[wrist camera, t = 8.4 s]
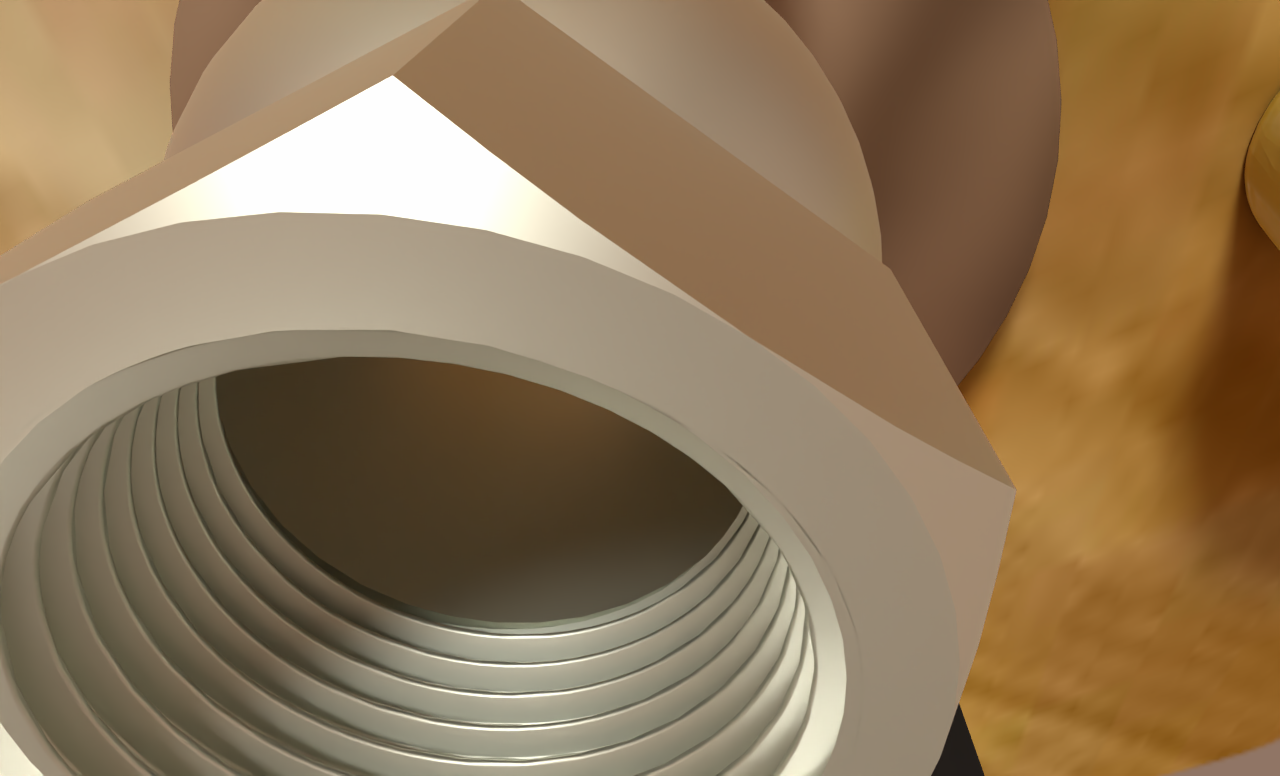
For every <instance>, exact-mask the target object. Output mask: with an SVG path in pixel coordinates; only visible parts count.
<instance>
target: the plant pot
mask: <svg viewBox="0 0 1280 776" xmlns="http://www.w3.org/2000/svg"><path fill="white" fill-rule="evenodd" d="M1245 188H1246V194H1247V199H1248V202H1249V206H1250V208H1251V211H1252V213H1253V215H1254V217H1255V219H1256V220H1257V222H1258V224H1259V225H1260V226H1261V228H1262V229H1263V230H1264V232H1265V233H1266V234H1267V236H1268V237H1269V238H1270V240H1271V241H1272V242H1273V243H1274V245H1275V246H1276V247H1277V248H1278V250H1279V251H1280V90H1279V92H1278V93H1277V94H1276V96H1275V97H1274V98H1273V100H1272V101H1271V103H1270V104H1269V106H1268V107H1267V109H1266V110H1265V112H1264V114H1263V116H1262V118H1261V119H1260V121H1259V123H1258V125H1257V128H1256V130H1255V132H1254V135H1253V137H1252V140H1251V143H1250V145H1249V149H1248V153H1247V158H1246V164H1245Z"/></svg>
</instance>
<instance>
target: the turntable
mask: <svg viewBox="0 0 1280 776" xmlns="http://www.w3.org/2000/svg"><path fill="white" fill-rule="evenodd" d="M260 1H262V0H180V1H179V6H178V10H177V15H176V19H175V24H174V37H173V50H172V63H171V76H170V94H171V111H172V127H173V131H174V129H175V127H176V125H177V123H178V121H179V119H180V117H181V115H182V113H183V111H184V109H185V107H186V105H187V103H188V101H189V99H190V97H191V95H192V93H193V91H194V89H195V87H196V85H197V83H198V81H199V79H200V77H201V75H202V73H203V72H204V70H205V69H206V67H207V66H208V64H209V63H210V61H211V60H212V58H213V57H214V56H215V54H216V53H217V52H218V51H219V50H220V48H221V47H222V46H223V45H224V43H225V42H226V41H227V40H228V39H229V37H230V36H231V35H232V34H233V33H234V31H235V30H236V29H237V28H238V27H239V25H240V24H241V23H242V22H243V21H244V19H245V18H246V17H247V16H248V15H249V13H250V12H251V11H252V10H253V9H254V7H255V6H256V5H257V4H258V3H259V2H260ZM764 1H765V2H766V3H767V4H768V5H770V6H771V7H772V8H773V9H774V10H775V11H776V12H777V13H778V14H779V15H780V16H781V17H782V18H783V19H784V20H785V21H786V22H787V23H788V25H789V26H790V27H791V28H792V30H793V31H794V32H795V33H796V35H797V36H798V37H799V38H800V40H801V41H802V42H803V43H804V45H805V46H806V47H807V48H808V50H809V51H810V52H811V53H812V55H813V56H814V58H815V59H816V61H817V62H818V64H819V66H820V67H821V69H822V71H823V72H824V74H825V76H826V77H827V79H828V80H829V82H830V84H831V85H832V87H833V89H834V90H835V92H836V94H837V95H838V97H839V99H840V101H841V103H842V105H843V107H844V109H845V112H846V114H847V116H848V118H849V121H850V123H851V125H852V127H853V130H854V132H855V134H856V136H857V138H858V141H859V143H860V147H861V150H862V153H863V156H864V160H865V163H866V166H867V170H868V173H869V176H870V180H871V183H872V188H873V192H874V196H875V202H876V208H877V214H878V220H879V226H880V232H881V247H882V263H883V264H884V265H886V266H887V267H888V268H890V269H891V271H892V273H893V274H894V276H895V278H896V280H897V281H898V283H899V285H900V287H901V288H902V290H903V292H904V294H905V295H906V297H907V299H908V301H909V302H910V304H911V306H912V308H913V309H914V311H915V313H916V315H917V316H918V318H919V320H920V322H921V323H922V325H923V327H924V329H925V330H926V332H927V334H928V336H929V337H930V339H931V341H932V343H933V344H934V346H935V348H936V350H937V351H938V353H939V355H940V357H941V358H942V360H943V362H944V364H945V365H946V367H947V369H948V371H949V372H950V374H951V376H952V378H953V379H954V381H955V383H956V385H957V386H958V385H959V383H960V382H961V381H962V380H963V378H964V377H965V376H966V375H967V374H968V372H969V371H970V370H971V369H972V368H973V366H974V365H975V364H976V363H977V361H978V360H979V359H980V357H981V356H982V354H983V352H984V351H985V349H986V348H987V346H988V345H989V343H990V341H991V340H992V338H993V337H994V335H995V334H996V332H997V331H998V329H999V327H1000V326H1001V324H1002V323H1003V321H1004V320H1005V318H1006V316H1007V314H1008V312H1009V310H1010V308H1011V306H1012V304H1013V302H1014V300H1015V298H1016V296H1017V294H1018V291H1019V289H1020V287H1021V285H1022V283H1023V281H1024V279H1025V277H1026V275H1027V273H1028V271H1029V268H1030V266H1031V263H1032V260H1033V257H1034V254H1035V251H1036V248H1037V245H1038V242H1039V239H1040V236H1041V233H1042V230H1043V227H1044V224H1045V221H1046V218H1047V213H1048V208H1049V203H1050V198H1051V193H1052V188H1053V183H1054V177H1055V172H1056V167H1057V162H1058V149H1059V133H1060V116H1061V90H1060V77H1059V64H1058V51H1057V39H1056V35H1055V30H1054V26H1053V21H1052V17H1051V12H1050V8H1049V3H1048V0H764Z"/></svg>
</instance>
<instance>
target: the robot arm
mask: <svg viewBox="0 0 1280 776" xmlns="http://www.w3.org/2000/svg"><path fill="white" fill-rule="evenodd" d="M931 776H984V773H983V770H982V767H981V764H980V762H979V759H978V756H977V753H976V750H975V747H974V744H973V742H972V739H971V736H970V733H969V730H968V727H967V725H966V722H965V719H964V716H963V713H962V710H961V708H960V705H959V704H958V707H957V710H956V713H955V716H954V718H953V721H952V724H951V727H950V730H949V733H948V736H947V739H946V742H945V745H944V748H943V751H942V754H941V757H940V759H939V761H938V763H937V765H936V767H935V769H934V771H933V773H932V775H931Z"/></svg>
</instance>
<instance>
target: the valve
mask: <svg viewBox="0 0 1280 776" xmlns="http://www.w3.org/2000/svg"><path fill="white" fill-rule="evenodd" d="M1015 494H1016V488H1015V486H1014V485H1013V483H1012V481H1011V479H1010V478H1009V476H1008V474H1007V472H1006V471H1005V469H1004V467H1003V465H1002V464H1001V462H1000V460H999V458H998V457H997V455H996V453H995V451H994V450H993V448H992V446H991V444H990V443H989V441H988V439H987V437H986V436H985V434H984V432H983V430H982V429H981V427H980V425H979V423H978V421H977V420H976V418H975V416H974V414H973V413H972V411H971V409H970V407H969V406H968V404H967V402H966V400H965V399H964V397H963V395H962V393H961V392H960V390H959V388H958V386H957V385H956V383H955V381H954V379H953V378H952V376H951V374H950V372H949V371H948V369H947V367H946V365H945V364H944V362H943V360H942V358H941V357H940V355H939V353H938V351H937V350H936V348H935V346H934V344H933V343H932V341H931V339H930V337H929V336H928V334H927V332H926V330H925V329H924V327H923V325H922V323H921V322H920V320H919V318H918V316H917V315H916V313H915V311H914V309H913V308H912V306H911V304H910V302H909V301H908V299H907V297H906V295H905V294H904V292H903V290H902V288H901V287H900V285H899V283H898V281H897V280H896V278H895V276H894V274H893V273H892V271H891V269H890V268H888V267H887V266H886V265H884V264H883V263H882V247H881V232H880V226H879V220H878V214H877V208H876V202H875V196H874V192H873V188H872V183H871V180H870V176H869V173H868V170H867V166H866V163H865V160H864V156H863V153H862V150H861V147H860V143H859V141H858V138H857V136H856V134H855V132H854V130H853V127H852V125H851V123H850V121H849V118H848V116H847V114H846V112H845V109H844V107H843V105H842V103H841V101H840V99H839V97H838V95H837V94H836V92H835V90H834V89H833V87H832V85H831V84H830V82H829V80H828V79H827V77H826V76H825V74H824V72H823V71H822V69H821V67H820V66H819V64H818V62H817V61H816V59H815V58H814V56H813V55H812V53H811V52H810V51H809V50H808V48H807V47H806V46H805V45H804V43H803V42H802V41H801V40H800V38H799V37H798V36H797V35H796V33H795V32H794V31H793V30H792V28H791V27H790V26H789V25H788V23H787V22H786V21H785V20H784V19H783V18H782V17H781V16H780V15H779V14H778V13H777V12H776V11H775V10H774V9H773V8H772V7H771V6H770V5H768V4H767V3H766V2H765V1H764V0H262V1H260V2H259V3H258V4H257V5H256V6H255V7H254V9H253V10H252V11H251V12H250V13H249V15H248V16H247V17H246V18H245V19H244V21H243V22H242V23H241V24H240V25H239V27H238V28H237V29H236V30H235V31H234V33H233V34H232V35H231V36H230V37H229V39H228V40H227V41H226V42H225V43H224V45H223V46H222V47H221V48H220V50H219V51H218V52H217V53H216V54H215V56H214V57H213V58H212V60H211V61H210V63H209V64H208V66H207V67H206V69H205V70H204V72H203V73H202V75H201V77H200V79H199V81H198V83H197V85H196V87H195V89H194V91H193V93H192V95H191V97H190V99H189V101H188V103H187V105H186V107H185V109H184V111H183V113H182V115H181V117H180V119H179V121H178V123H177V125H176V127H175V129H174V131H173V134H172V136H171V139H170V141H169V144H168V146H167V150H166V154H165V158H164V161H163V162H161V163H159V164H157V165H155V166H153V167H151V168H149V169H147V170H145V171H144V172H142V173H140V174H138V175H136V176H134V177H132V178H130V179H128V180H127V181H125V182H123V183H121V184H119V185H117V186H115V187H113V188H111V189H110V190H108V191H106V192H104V193H102V194H100V195H98V196H96V197H94V198H93V199H91V200H89V201H87V202H86V203H84V204H82V205H81V206H79V207H78V208H76V209H74V210H73V211H71V212H70V213H68V214H66V215H65V216H63V217H62V218H60V219H58V220H57V221H55V222H54V223H52V224H50V225H49V226H47V227H46V228H44V229H42V230H41V231H39V232H37V233H36V234H34V235H33V236H31V237H29V238H28V239H26V240H25V241H23V242H21V243H20V244H18V245H17V246H15V247H13V248H12V249H10V250H9V251H7V252H5V253H4V254H2V255H0V776H931V775H932V773H933V771H934V769H935V767H936V765H937V763H938V761H939V759H940V757H941V754H942V751H943V748H944V745H945V742H946V739H947V736H948V733H949V730H950V727H951V724H952V721H953V718H954V716H955V713H956V710H957V707H958V704H959V701H960V698H961V695H962V692H963V689H964V686H965V683H966V680H967V677H968V675H969V672H970V669H971V666H972V663H973V660H974V657H975V654H976V651H977V648H978V645H979V641H980V638H981V634H982V630H983V626H984V623H985V619H986V615H987V611H988V607H989V604H990V600H991V596H992V592H993V589H994V585H995V581H996V577H997V573H998V569H999V565H1000V560H1001V556H1002V551H1003V547H1004V543H1005V538H1006V534H1007V529H1008V525H1009V521H1010V516H1011V512H1012V507H1013V503H1014V499H1015Z"/></svg>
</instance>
